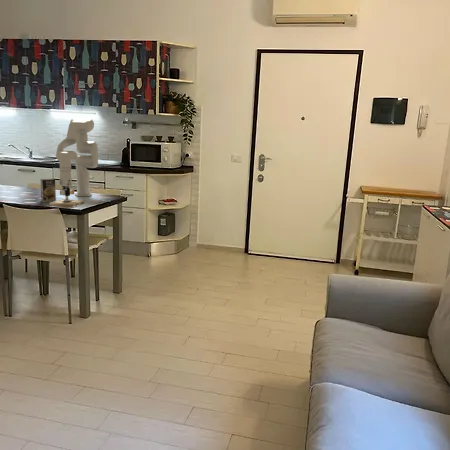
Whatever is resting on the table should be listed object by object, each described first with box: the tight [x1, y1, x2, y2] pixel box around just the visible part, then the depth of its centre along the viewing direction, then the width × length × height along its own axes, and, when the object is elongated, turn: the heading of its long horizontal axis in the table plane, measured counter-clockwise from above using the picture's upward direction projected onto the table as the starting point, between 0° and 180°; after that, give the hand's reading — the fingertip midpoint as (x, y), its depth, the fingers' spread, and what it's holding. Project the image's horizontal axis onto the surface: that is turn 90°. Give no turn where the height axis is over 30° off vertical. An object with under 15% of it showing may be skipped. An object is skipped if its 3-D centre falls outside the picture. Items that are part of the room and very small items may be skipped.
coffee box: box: [40, 178, 57, 203], centre depth 342 cm, size 9×6×16 cm
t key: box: [59, 188, 75, 202], centre depth 333 cm, size 10×4×8 cm, turn 121°
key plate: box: [48, 198, 85, 208], centre depth 334 cm, size 17×17×2 cm
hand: (66, 195), depth 333 cm, fingers closed on t key, 3 cm apart
